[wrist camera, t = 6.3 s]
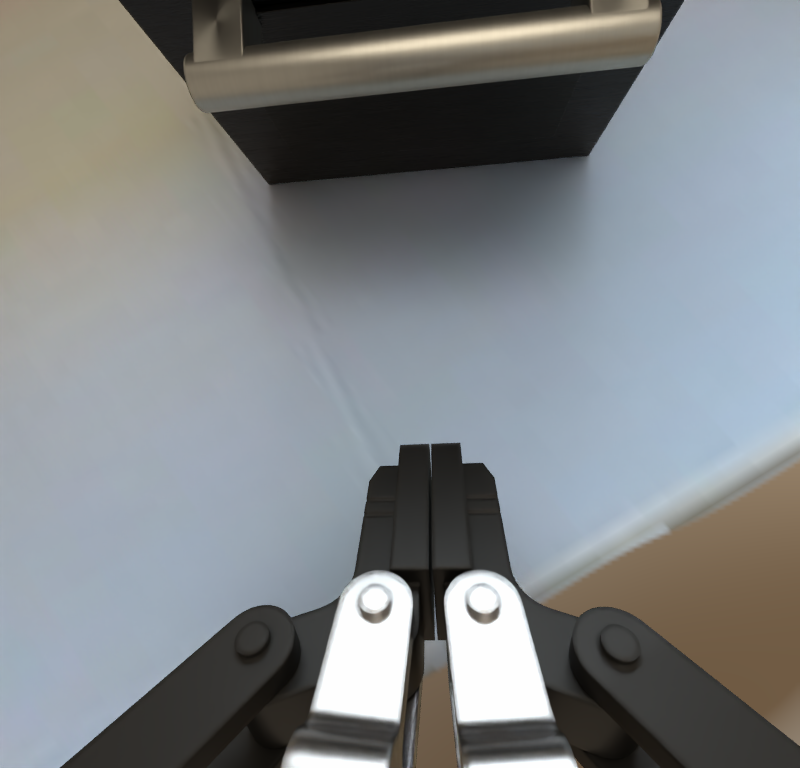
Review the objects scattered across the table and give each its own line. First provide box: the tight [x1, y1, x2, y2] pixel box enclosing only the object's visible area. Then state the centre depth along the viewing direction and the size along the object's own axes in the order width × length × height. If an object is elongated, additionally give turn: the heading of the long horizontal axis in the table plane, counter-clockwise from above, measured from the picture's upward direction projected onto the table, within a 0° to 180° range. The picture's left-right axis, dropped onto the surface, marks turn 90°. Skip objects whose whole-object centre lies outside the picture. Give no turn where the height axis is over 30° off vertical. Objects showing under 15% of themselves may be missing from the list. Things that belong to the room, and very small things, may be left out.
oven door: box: [119, 0, 684, 184], centre depth 15 cm, size 4×16×14 cm, turn 92°
